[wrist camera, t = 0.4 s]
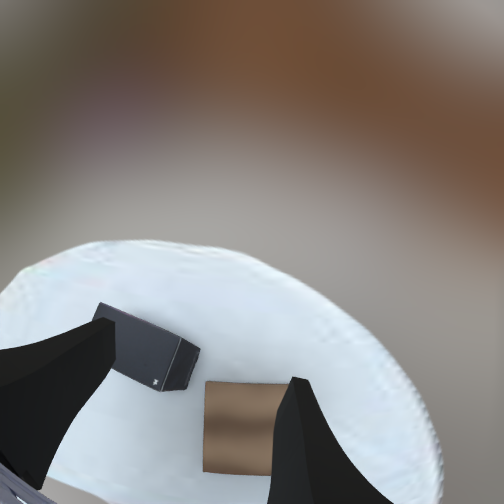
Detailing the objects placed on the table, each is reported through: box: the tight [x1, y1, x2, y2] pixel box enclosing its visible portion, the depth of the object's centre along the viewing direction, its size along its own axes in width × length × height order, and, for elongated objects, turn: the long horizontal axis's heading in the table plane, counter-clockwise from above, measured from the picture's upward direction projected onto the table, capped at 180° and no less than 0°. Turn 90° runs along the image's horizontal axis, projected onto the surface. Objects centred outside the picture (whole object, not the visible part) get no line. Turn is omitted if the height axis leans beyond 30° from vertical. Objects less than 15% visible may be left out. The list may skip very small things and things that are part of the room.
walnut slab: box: [203, 381, 289, 476], centre depth 32 cm, size 12×12×2 cm
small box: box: [92, 302, 200, 392], centre depth 33 cm, size 11×6×10 cm, turn 71°
